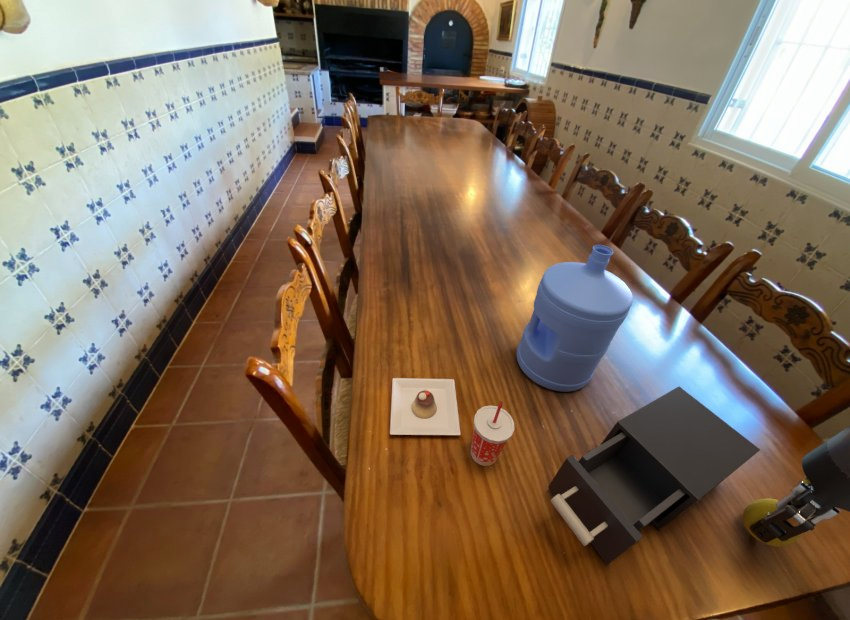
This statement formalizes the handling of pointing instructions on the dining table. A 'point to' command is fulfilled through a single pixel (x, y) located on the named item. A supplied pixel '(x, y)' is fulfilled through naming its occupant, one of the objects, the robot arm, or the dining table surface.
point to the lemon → (758, 512)
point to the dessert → (424, 407)
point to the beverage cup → (490, 433)
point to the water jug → (573, 322)
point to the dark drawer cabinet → (685, 446)
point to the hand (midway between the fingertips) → (768, 523)
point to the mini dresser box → (612, 495)
